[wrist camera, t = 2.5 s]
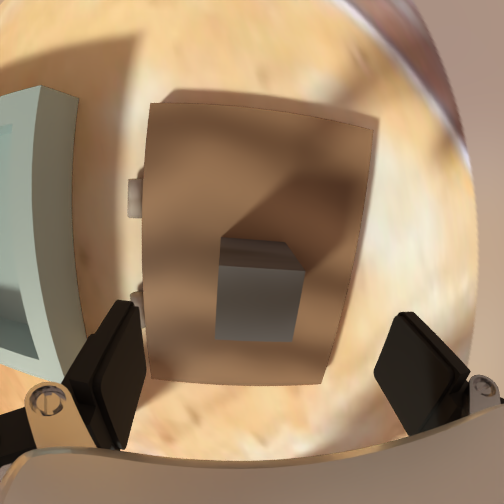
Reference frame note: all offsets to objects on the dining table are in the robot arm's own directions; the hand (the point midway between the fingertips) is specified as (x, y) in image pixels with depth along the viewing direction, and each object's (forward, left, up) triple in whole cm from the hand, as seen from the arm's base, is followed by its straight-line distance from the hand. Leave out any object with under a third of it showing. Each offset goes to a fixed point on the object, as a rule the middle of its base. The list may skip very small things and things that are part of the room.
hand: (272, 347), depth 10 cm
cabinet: (0, +20, -11) cm, 23 cm away
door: (-1, 0, -11) cm, 11 cm away
